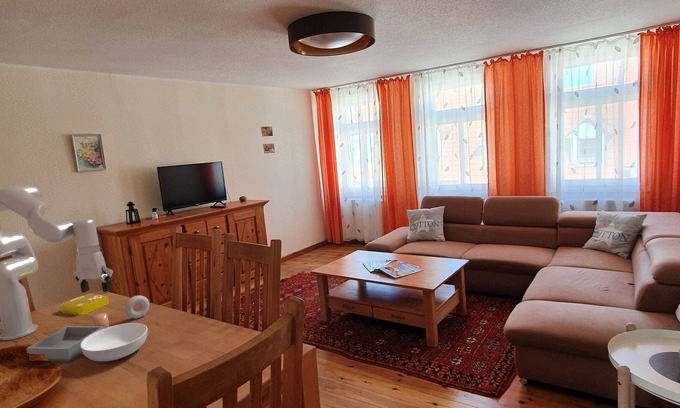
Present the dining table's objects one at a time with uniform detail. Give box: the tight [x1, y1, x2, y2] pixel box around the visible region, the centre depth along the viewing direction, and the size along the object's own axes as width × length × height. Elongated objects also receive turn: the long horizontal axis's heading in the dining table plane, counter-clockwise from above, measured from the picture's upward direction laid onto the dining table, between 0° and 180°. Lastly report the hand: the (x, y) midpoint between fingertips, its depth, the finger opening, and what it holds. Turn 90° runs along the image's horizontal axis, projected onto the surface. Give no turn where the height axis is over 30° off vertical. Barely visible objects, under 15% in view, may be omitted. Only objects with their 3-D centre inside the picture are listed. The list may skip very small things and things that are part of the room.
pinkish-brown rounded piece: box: [91, 312, 110, 328], centre depth 158 cm, size 5×5×7 cm
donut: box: [124, 295, 150, 320], centre depth 170 cm, size 10×3×10 cm, turn 136°
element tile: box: [60, 293, 109, 316], centre depth 187 cm, size 15×15×5 cm
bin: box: [26, 325, 105, 363], centre depth 145 cm, size 17×17×5 cm
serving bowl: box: [80, 322, 148, 362], centre depth 139 cm, size 21×21×7 cm
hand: (96, 291), depth 156 cm, fingers open, 9 cm apart
